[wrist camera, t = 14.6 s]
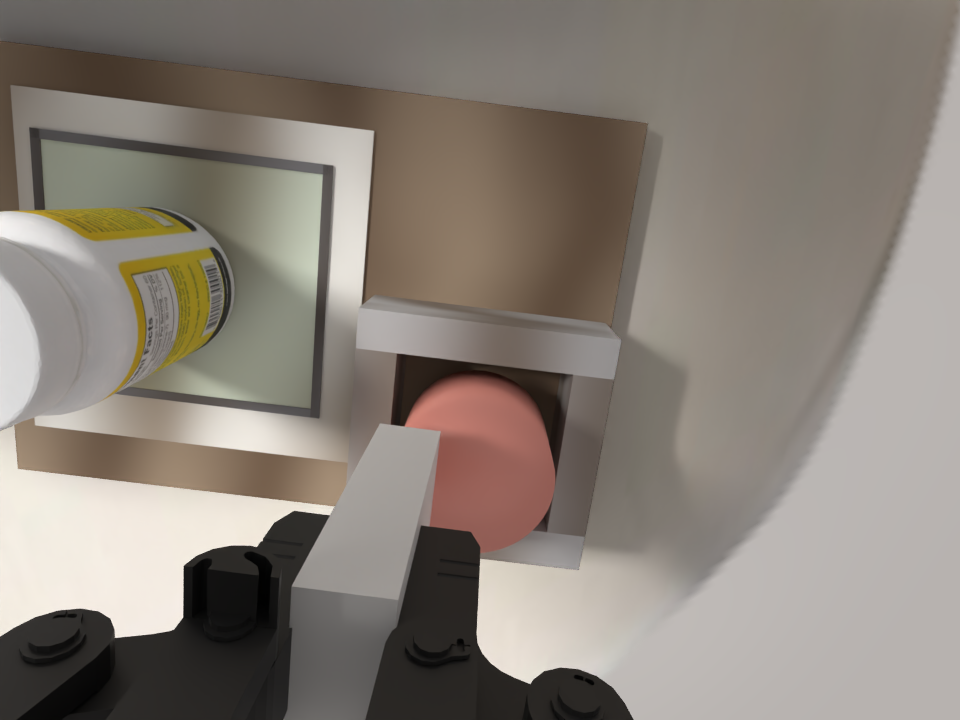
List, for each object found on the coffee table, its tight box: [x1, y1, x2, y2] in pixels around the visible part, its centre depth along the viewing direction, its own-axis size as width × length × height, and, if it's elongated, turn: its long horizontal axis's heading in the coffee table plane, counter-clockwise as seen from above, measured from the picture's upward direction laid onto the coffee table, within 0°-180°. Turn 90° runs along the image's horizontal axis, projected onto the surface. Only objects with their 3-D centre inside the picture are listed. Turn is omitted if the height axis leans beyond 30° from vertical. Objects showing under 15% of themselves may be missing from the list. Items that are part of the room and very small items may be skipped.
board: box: [0, 41, 648, 570], centre depth 19 cm, size 20×14×3 cm
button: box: [404, 370, 555, 553], centre depth 18 cm, size 4×4×3 cm
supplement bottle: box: [0, 207, 235, 431], centre depth 15 cm, size 5×5×8 cm
